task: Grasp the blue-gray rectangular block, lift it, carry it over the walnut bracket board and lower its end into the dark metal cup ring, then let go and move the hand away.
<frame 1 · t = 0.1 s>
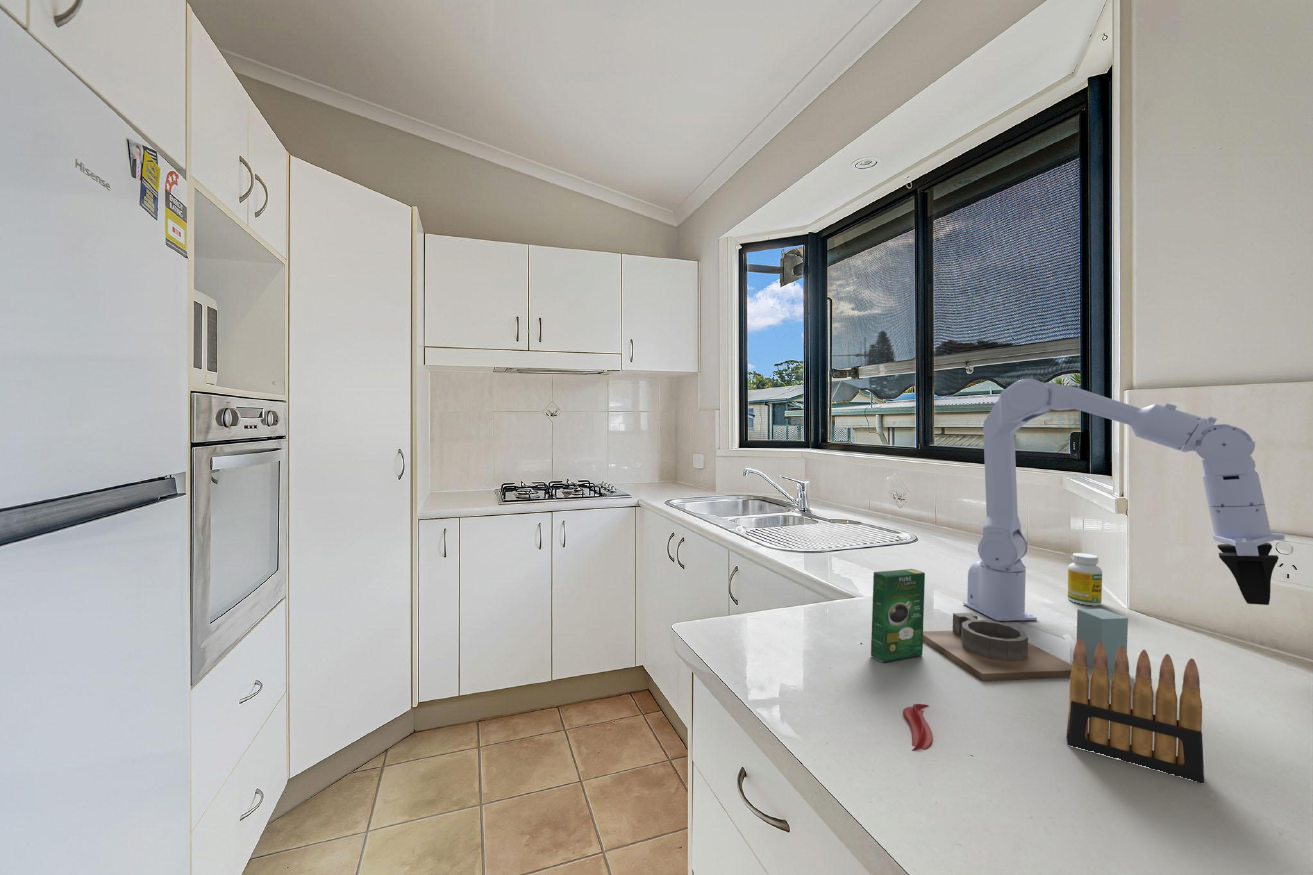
hand: (1255, 597, 77), 11 cm above the counter, tool pointing down, fingers open, 7 cm apart
supplement bottle: (1084, 603, 106), on the counter
blue-gray rectangular block: (1100, 667, 77), on the counter
cayenne pepper: (917, 730, 62), on the counter
cup bracket: (993, 655, 81), on the counter
coffee box: (897, 657, 81), on the counter
ammunition clip: (1130, 761, 56), on the counter
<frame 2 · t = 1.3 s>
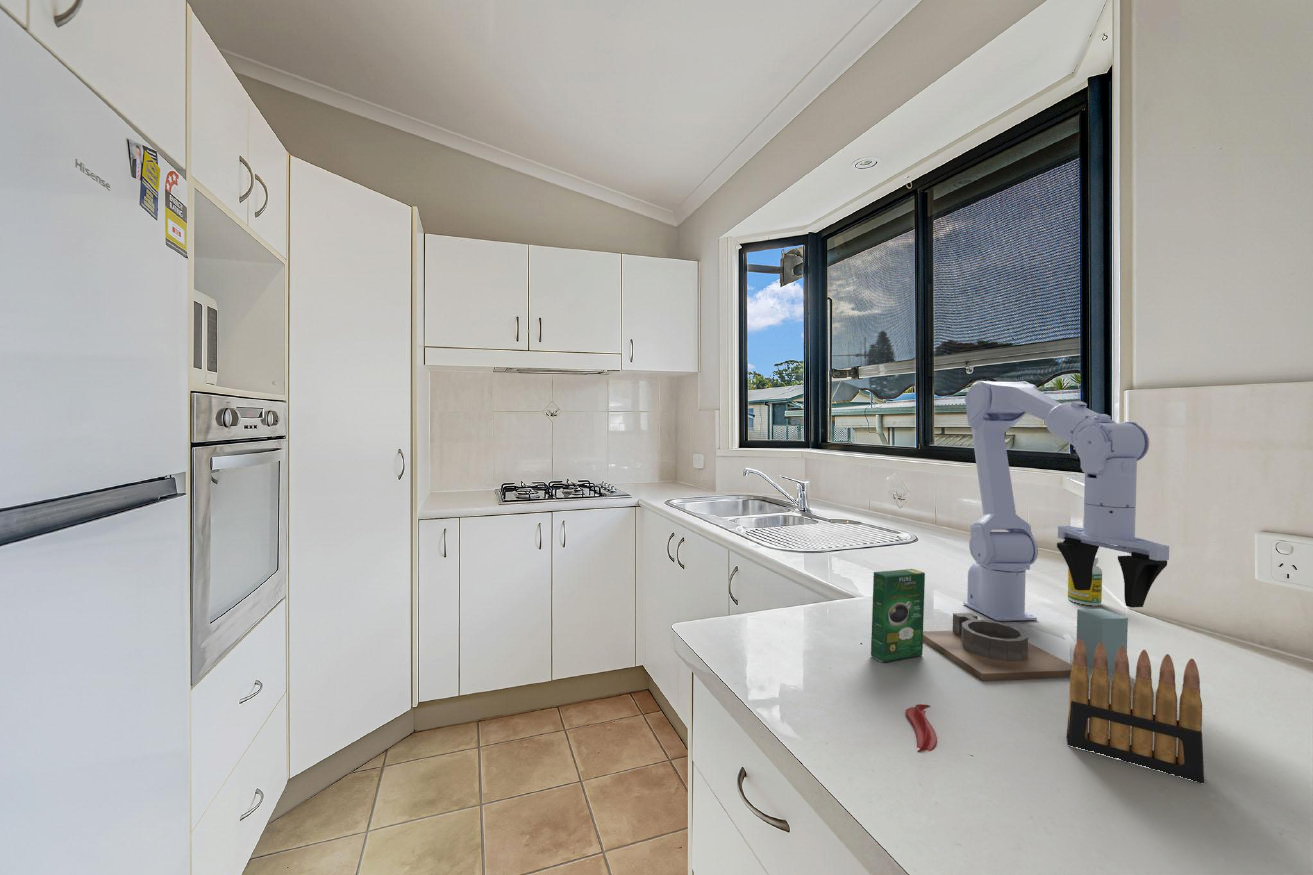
hand: (1107, 597, 77), 10 cm above the counter, tool pointing down, fingers open, 7 cm apart
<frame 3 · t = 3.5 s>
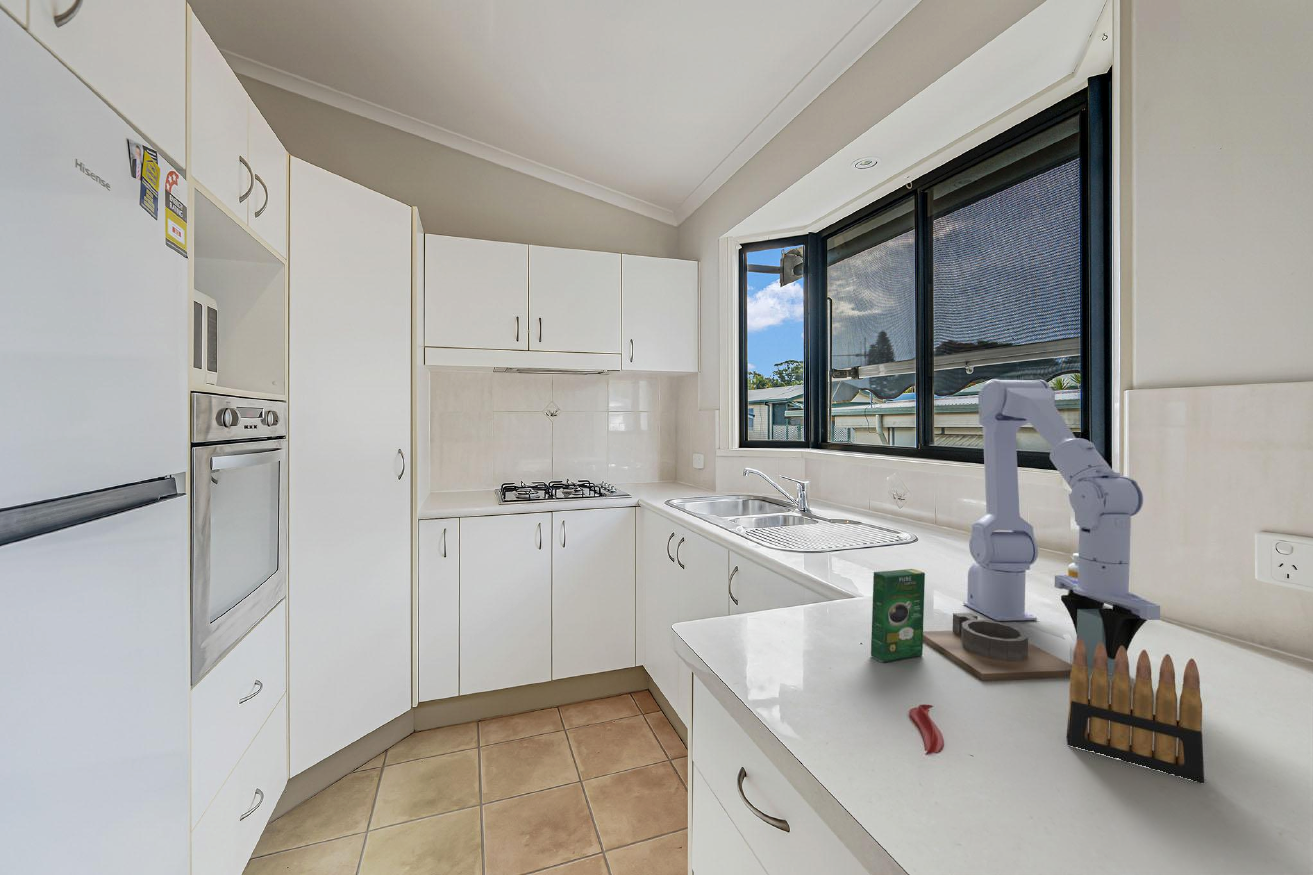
hand: (1101, 651, 77), 2 cm above the counter, tool pointing down, fingers closed on blue-gray rectangular block, 4 cm apart
blue-gray rectangular block: (1100, 667, 77), on the counter, touching gripper
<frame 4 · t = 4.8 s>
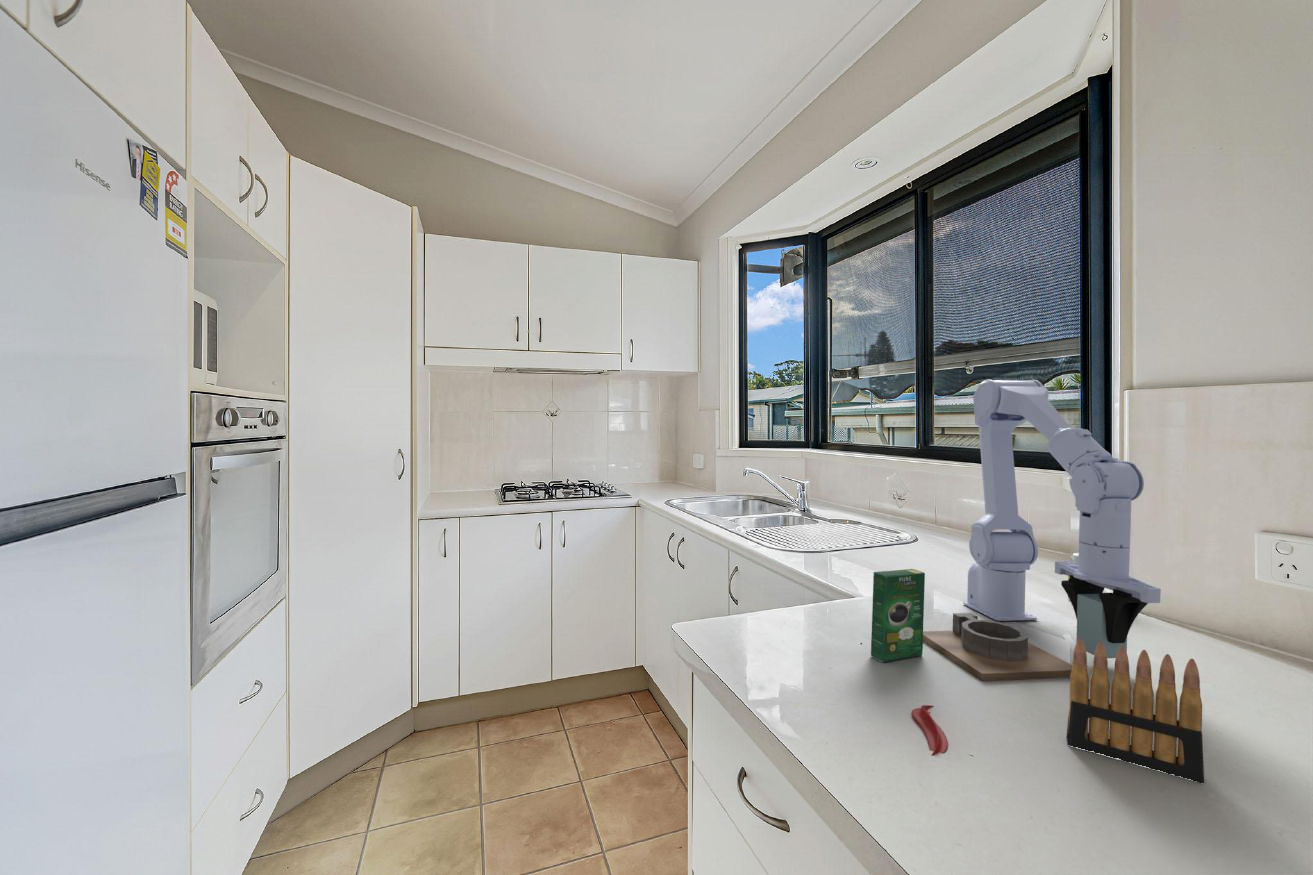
hand: (1101, 635, 77), 5 cm above the counter, tool pointing down, fingers closed on blue-gray rectangular block, 4 cm apart
blue-gray rectangular block: (1100, 652, 77), point 2 cm above the counter, touching gripper
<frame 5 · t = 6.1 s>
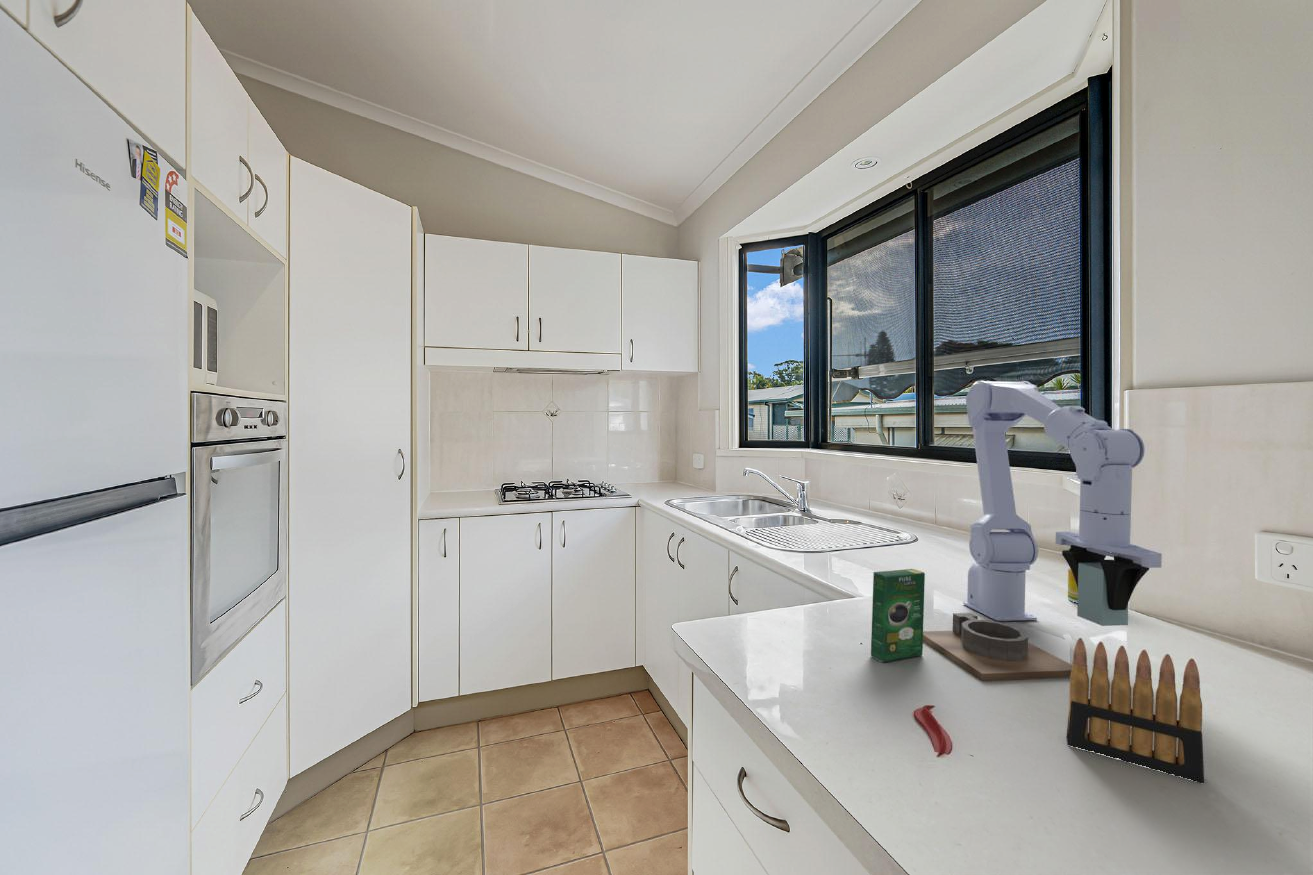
hand: (1102, 603, 77), 9 cm above the counter, tool pointing down, fingers closed on blue-gray rectangular block, 4 cm apart
blue-gray rectangular block: (1101, 620, 77), point 7 cm above the counter, touching gripper
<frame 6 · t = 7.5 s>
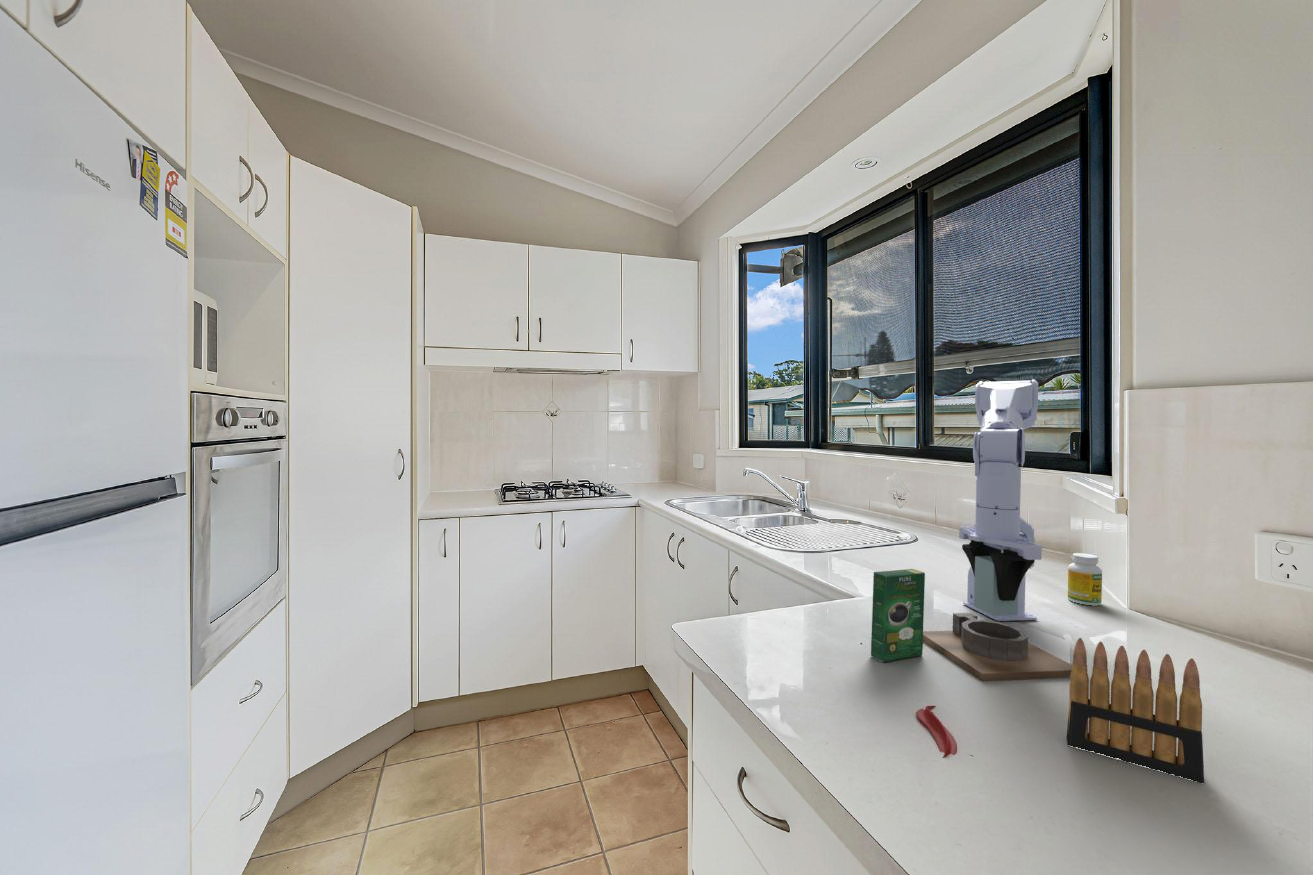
hand: (995, 595, 81), 9 cm above the counter, tool pointing down, fingers closed on blue-gray rectangular block, 4 cm apart
blue-gray rectangular block: (995, 610, 81), point 7 cm above the counter, touching gripper
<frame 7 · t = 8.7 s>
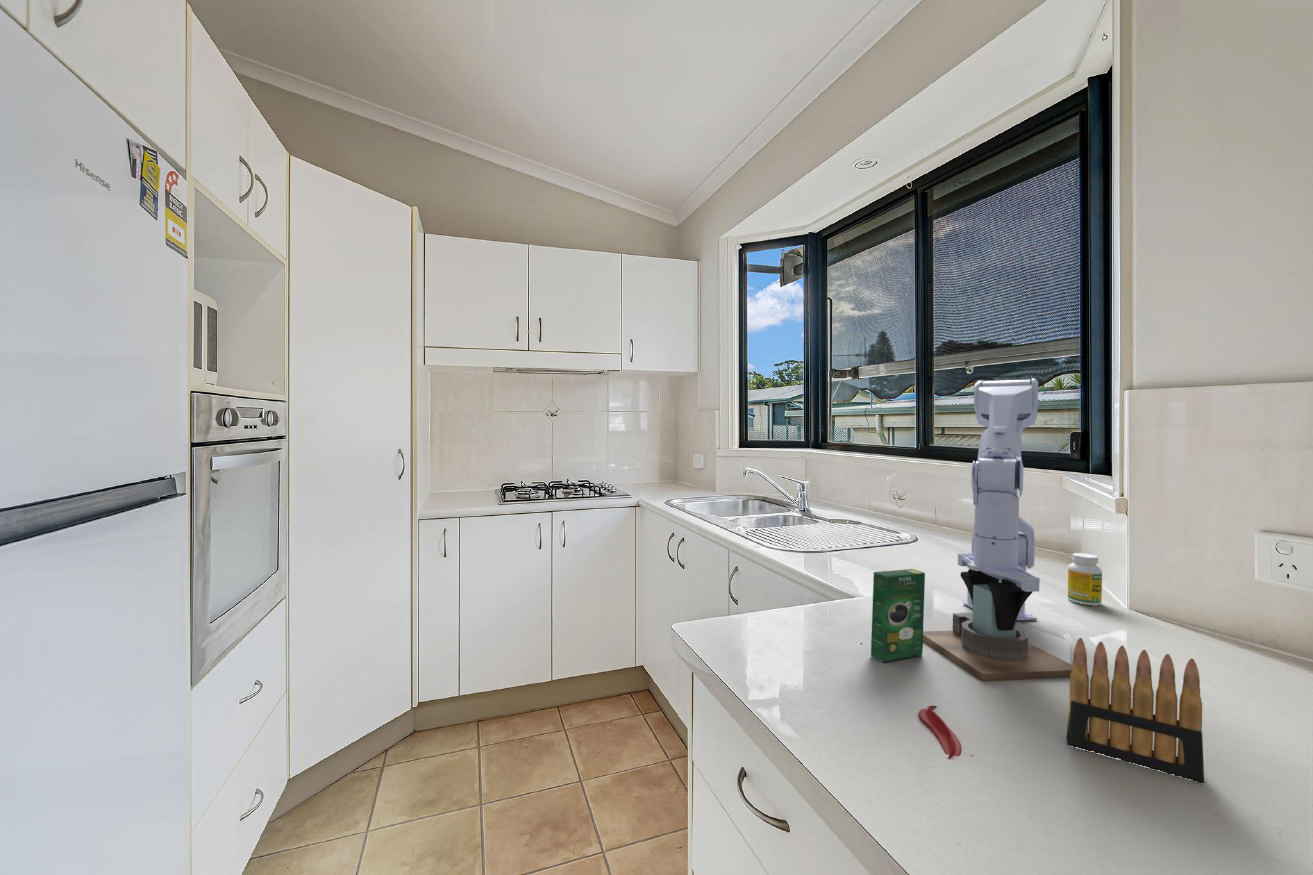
hand: (993, 623, 81), 5 cm above the counter, tool pointing down, fingers closed on blue-gray rectangular block, 4 cm apart
blue-gray rectangular block: (993, 639, 81), point 2 cm above the counter, touching gripper
when the fingers open (5 cm above the counter, at t = 9.4 s): blue-gray rectangular block drops 1 cm, resting on cup bracket.
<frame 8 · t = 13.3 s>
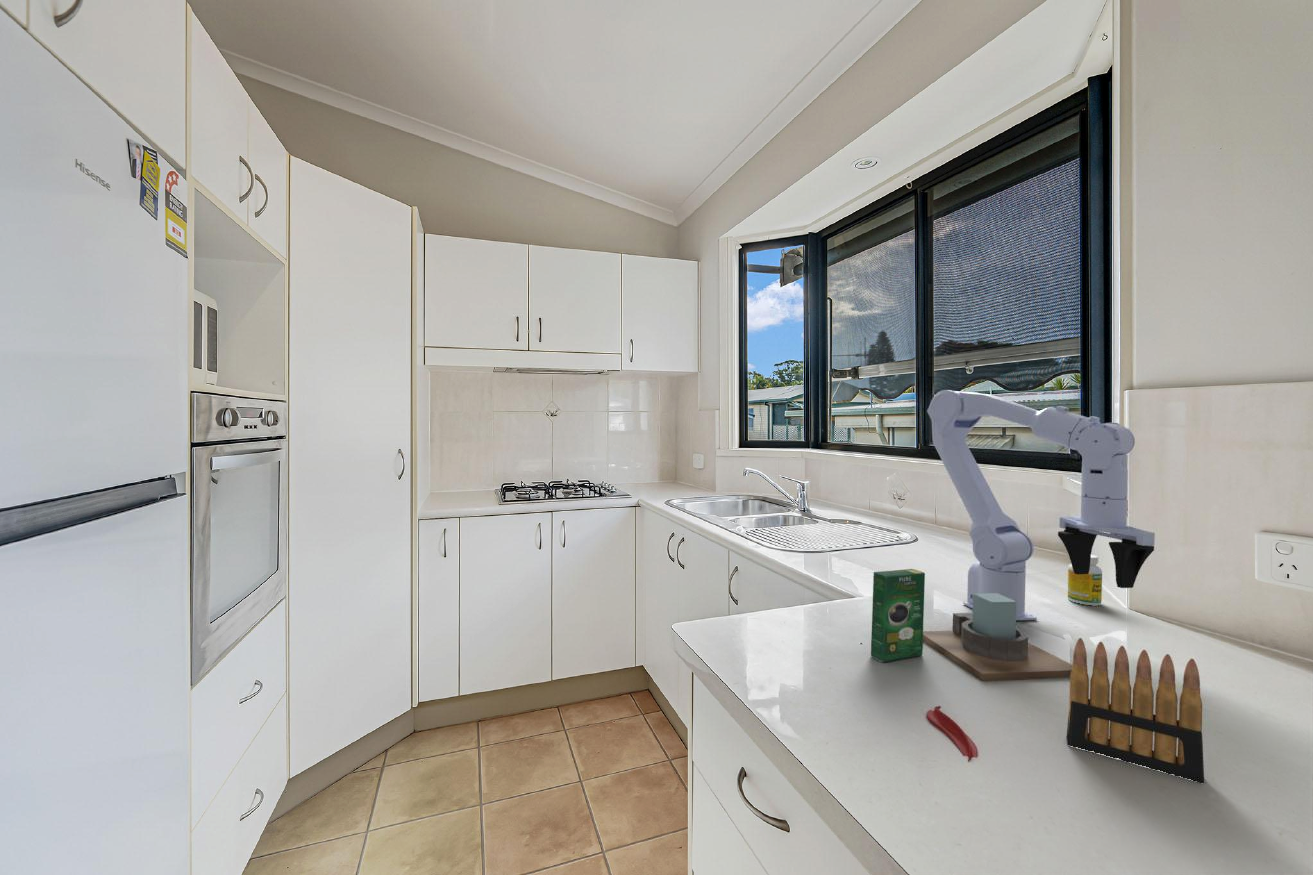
hand: (1102, 580, 86), 10 cm above the counter, tool pointing down, fingers open, 7 cm apart
blue-gray rectangular block: (993, 648, 81), point 1 cm above the counter, touching cup bracket
cayenne pepper: (949, 736, 61), on the counter
everything else where it was.
at the end: blue-gray rectangular block 0.0 cm off-centre on the cup bracket, point 1.0 cm above the cup bracket's base; blue-gray rectangular block tilted 0°; the gripper is holding nothing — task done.
